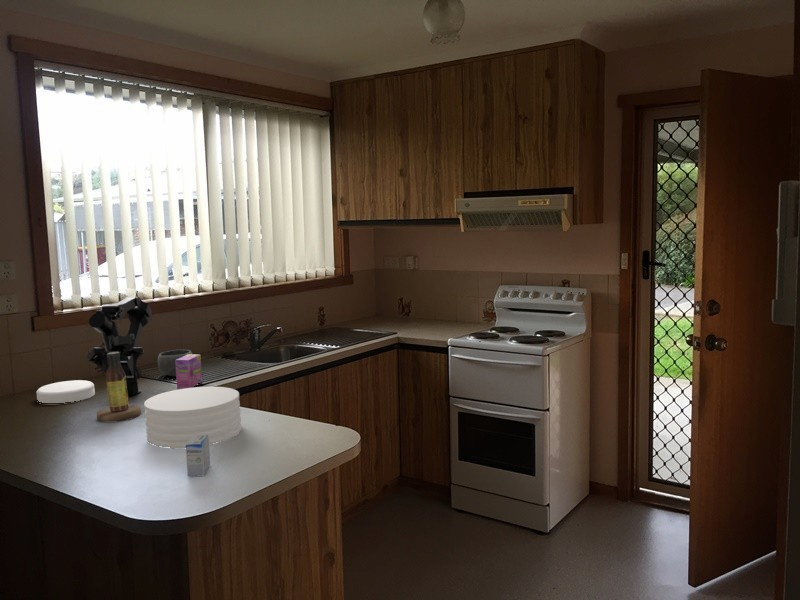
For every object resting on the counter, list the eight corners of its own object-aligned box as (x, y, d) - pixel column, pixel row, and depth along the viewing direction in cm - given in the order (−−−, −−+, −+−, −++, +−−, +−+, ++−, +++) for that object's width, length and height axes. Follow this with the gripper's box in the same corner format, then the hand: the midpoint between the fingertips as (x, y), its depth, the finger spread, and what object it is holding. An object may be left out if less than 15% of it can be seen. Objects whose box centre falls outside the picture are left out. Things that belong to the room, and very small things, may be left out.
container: (58, 407, 254) (57, 395, 253) (25, 401, 264) (24, 389, 263) (106, 394, 271) (105, 382, 270) (73, 389, 281) (72, 377, 280)
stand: (87, 419, 235) (87, 413, 235) (120, 408, 248) (120, 403, 248) (117, 423, 229) (117, 417, 229) (149, 412, 242) (149, 406, 242)
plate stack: (126, 444, 208) (123, 407, 207) (187, 417, 234) (184, 384, 233) (204, 453, 198) (201, 414, 196) (258, 424, 224) (256, 389, 222)
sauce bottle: (132, 409, 238) (127, 352, 236) (113, 413, 234) (108, 355, 232) (124, 406, 243) (119, 350, 241) (106, 410, 239) (100, 353, 236)
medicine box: (193, 466, 187) (191, 435, 186) (210, 465, 188) (208, 434, 187) (187, 477, 179) (184, 444, 178) (205, 476, 180) (202, 443, 179)
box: (190, 389, 272) (188, 359, 271) (176, 389, 273) (174, 359, 272) (202, 382, 282) (200, 354, 281) (189, 382, 283) (187, 354, 282)
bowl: (189, 378, 290) (187, 355, 289) (153, 380, 290) (151, 356, 289) (199, 370, 305) (198, 348, 304) (165, 371, 305) (164, 349, 304)
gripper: (96, 324, 241) (107, 364, 235) (145, 325, 255) (156, 363, 249) (82, 341, 246) (92, 380, 241) (131, 341, 261) (141, 378, 255)
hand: (121, 375), depth 246 cm, fingers open, 9 cm apart
